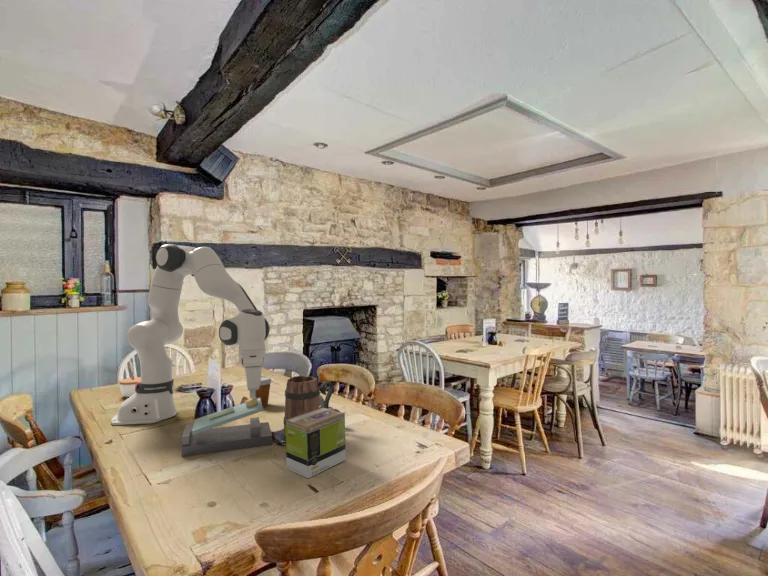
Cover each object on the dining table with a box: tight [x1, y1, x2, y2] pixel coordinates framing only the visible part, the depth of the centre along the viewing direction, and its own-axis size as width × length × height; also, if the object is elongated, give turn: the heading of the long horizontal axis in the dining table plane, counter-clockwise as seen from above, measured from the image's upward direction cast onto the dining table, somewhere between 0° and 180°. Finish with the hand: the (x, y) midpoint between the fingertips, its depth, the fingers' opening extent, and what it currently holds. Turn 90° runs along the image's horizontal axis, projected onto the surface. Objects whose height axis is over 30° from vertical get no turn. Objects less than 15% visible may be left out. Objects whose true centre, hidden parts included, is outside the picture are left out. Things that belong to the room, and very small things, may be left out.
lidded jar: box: [118, 375, 141, 398], centre depth 191 cm, size 11×11×9 cm
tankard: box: [278, 375, 341, 442], centre depth 144 cm, size 24×17×20 cm
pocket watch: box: [319, 391, 334, 410], centre depth 168 cm, size 8×8×10 cm
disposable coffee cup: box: [255, 375, 272, 408], centre depth 176 cm, size 10×10×12 cm
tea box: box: [285, 407, 347, 479], centre depth 119 cm, size 15×10×15 cm, turn 141°
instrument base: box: [181, 417, 273, 457], centre depth 135 cm, size 27×14×6 cm, turn 110°
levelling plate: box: [192, 397, 264, 435], centre depth 135 cm, size 22×12×3 cm, turn 110°
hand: (252, 397), depth 138 cm, fingers closed
